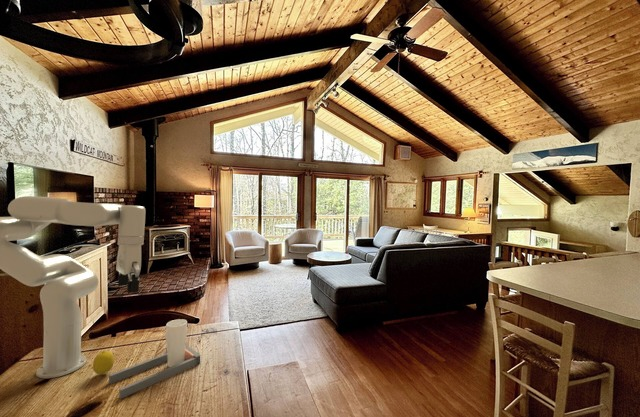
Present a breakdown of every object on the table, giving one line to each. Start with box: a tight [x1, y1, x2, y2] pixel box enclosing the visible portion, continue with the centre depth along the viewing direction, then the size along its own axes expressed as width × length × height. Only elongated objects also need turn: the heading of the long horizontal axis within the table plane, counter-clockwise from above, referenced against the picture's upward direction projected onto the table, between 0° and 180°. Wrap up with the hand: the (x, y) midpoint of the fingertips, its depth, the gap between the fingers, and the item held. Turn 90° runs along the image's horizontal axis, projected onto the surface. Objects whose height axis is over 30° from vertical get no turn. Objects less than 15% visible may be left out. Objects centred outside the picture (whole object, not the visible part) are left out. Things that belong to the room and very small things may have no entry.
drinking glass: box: [165, 318, 188, 368], centre depth 98 cm, size 7×7×15 cm
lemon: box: [92, 350, 115, 376], centre depth 91 cm, size 6×6×8 cm
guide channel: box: [108, 344, 201, 399], centre depth 93 cm, size 11×24×3 cm, turn 141°
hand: (127, 288), depth 97 cm, fingers open, 9 cm apart
